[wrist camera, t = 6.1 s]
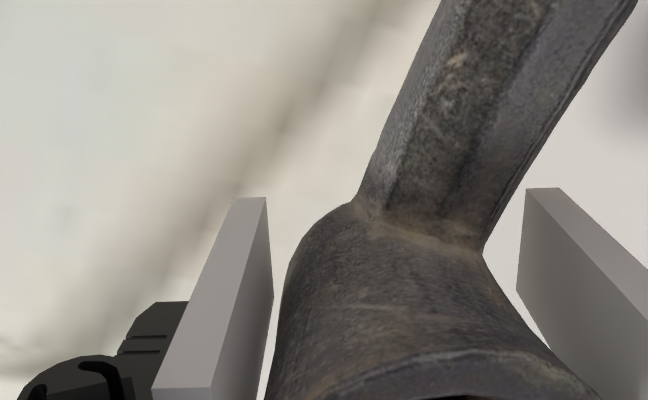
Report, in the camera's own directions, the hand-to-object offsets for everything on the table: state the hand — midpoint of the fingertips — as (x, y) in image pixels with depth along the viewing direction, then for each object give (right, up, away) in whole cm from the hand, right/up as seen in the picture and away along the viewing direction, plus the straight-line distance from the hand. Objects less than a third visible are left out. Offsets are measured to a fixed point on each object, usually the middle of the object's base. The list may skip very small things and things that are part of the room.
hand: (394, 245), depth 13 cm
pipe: (0, +1, +1) cm, 2 cm away
